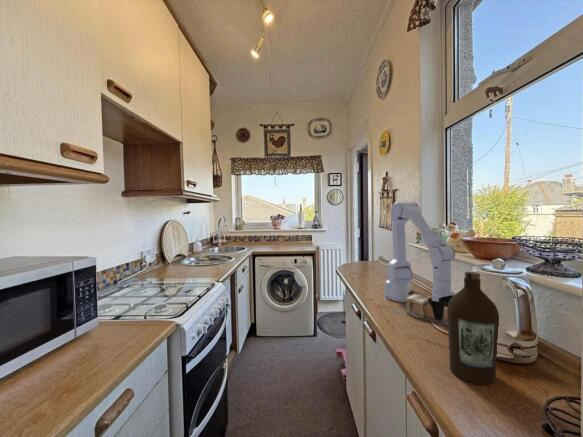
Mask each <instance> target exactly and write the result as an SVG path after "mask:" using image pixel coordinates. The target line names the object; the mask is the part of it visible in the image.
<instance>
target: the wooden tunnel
mask: <svg viewBox="0 0 583 437" xmlns="http://www.w3.org/2000/svg"><path fill="white" fill-rule="evenodd" d="M429 298H432V295H431V296H430V295H426V294H420V293H416V292H415V293H413V294H411V295H410V296H409V295H408V298H406V302H405V303H406V304H405V305H406V306H405V307H406V308H405V309H406V310H405V311H406V312H405V313H406V314H409V315H410V314H411V309H412V303H413V302H414V303H419V304H420V317H421V318H424V303H426V302H427V303H429V301H428V299H429ZM406 314H405V315H406ZM409 315H408V316H409ZM421 318H420V319H421Z"/></svg>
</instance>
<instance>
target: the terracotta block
mask: <svg viewBox="0 0 583 437" xmlns="http://www.w3.org/2000/svg"><path fill="white" fill-rule="evenodd" d="M412 307H413V308H412V309H413V313H414V314H418V315H420V304H419V303H414V302H412ZM424 316H426V317H430V318H434V319H435V317H434V313H433V310H432V307H431V305H430V303H427V302H426V303H424ZM447 319H448V316H447V307H444V311H443V318H442V321H446V320H447Z"/></svg>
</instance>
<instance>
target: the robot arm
mask: <svg viewBox="0 0 583 437" xmlns="http://www.w3.org/2000/svg"><path fill="white" fill-rule="evenodd" d="M421 210H422V209H421V206H419V204H418V202H416V201H409V202H408V201H404V202H402V201H396V202H393V203H392V205H391V207H390V221H391V237H392V238H391V239H392V240H391V241H392V260H390V261H389V262H388V263H387V268H386V278H387V280H385V283H384V299H383V301H386V300H392V301H395V302H402V303H403V302H405V303H406V298H408V297H409V292H408V282H410V280H411V279H412V278H413V275H414V274H413V269H412V264H411V263H410V261H408V260H407V252H406V251H407V250H406V246H407V245H406V226H405V225H406V223H407V222H408V221H411V222H412V223H413V225H414V226H415V227H416V228H417V229H418V231H419V232H420V233H421V234H420V238H421V240H422V241H423V243H424V245H425V246H426V247H427V249H428V250H429V252H428V256H429V258H430V260H431V266H432V295H431V298H429V299H428V301H429V303H430V305H431V307H432V310H433V313H434V317H435V319H437V320H442V318H443V311H444V307H448V303H449V301H450V299H451V298H452V297H453V296H454V295H455V294H456V293H455V292H454V291H452V261H453V260H455V258H456V251H455V249H454V247H453V246H452V245H450V244H447V242H445V241H444V240H443V239H442V237H441V236H440V235H439V233H438V232H439V231H437V229H434V228H431V227H430V226H429V225H428V223H427V221H426V220H425V218H424V216H423V215H422V213H421ZM398 266H400V267H398Z"/></svg>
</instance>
